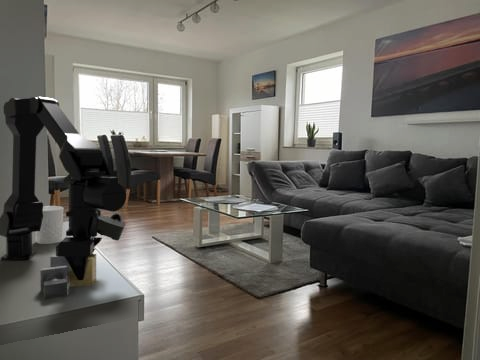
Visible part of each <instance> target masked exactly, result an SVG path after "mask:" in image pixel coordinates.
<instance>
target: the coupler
mask: <svg viewBox="0 0 480 360" xmlns="http://www.w3.org/2000/svg"><path fill="white" fill-rule="evenodd" d="M96 279H97V253H93V254H91V255H90V256H89V257H88V259H87V265H86V270H85V275H84V279H83V280H78V279H77V278H76V276H75V274H74V272H73V270H72V268H71V267H70V276H69V287H82V286H83V287H85V286H86V287H87V286H88V287H89V286H93V285H94V283H95V281H96Z"/></svg>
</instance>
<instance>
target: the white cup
mask: <svg viewBox="0 0 480 360" xmlns="http://www.w3.org/2000/svg"><path fill="white" fill-rule="evenodd" d="M64 210H65V209H64V207H63V206H60V205H59V206H58V205H43V220H42V225H41V229H40V231H35V232H34V234H35V242H36V244H39V245H53V244H57V243H58V244H59V243H60V242H61V241H62V240H63V239H62V238H63V225H64Z"/></svg>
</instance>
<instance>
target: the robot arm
mask: <svg viewBox="0 0 480 360" xmlns="http://www.w3.org/2000/svg"><path fill="white" fill-rule="evenodd" d="M3 114H4V118H5V125H6V127H7V128H8V129H9V130H10V132H11V134H12V136H13V139H12V141H13V142H12V180H11V182H12V184H11V186H12V187H11V188H12V190H11V194H10V196H9V197H8V199H6V201H5V203H3V210H2V211H3V213H2V214H1V216H0V236H2V237H4V238H5V251H6V252H5V254H3V255H2V256H1V257H0V261H1V260H6V261H7V260H10V261H11V260H30V259H31V258H32V257H33V256H34V255H35V254H36V253H37V252H38V250H37V249H33V233H35V231H40V229H41V225H42V220H43V206H44V203H43V201H40V200H39V198H38V197H37V196H36V194H35V193H36V165H37V164H36V163H37V161H36V159H37V138H38V135H40V133H41V131H42V130H43V129H44V128H45V129H46V130H47V131H48V133H49V134H50V135H51V137H52V139H53V140H54V141H55V143H56V144H57V147H58V149H59V150H60V151H59V154H58V158H59V160H60V162H61V164H62V167H63V169H64V170H65V171H66V173H68V175H66V176H65V177H64V178H63V183H68V209H67V210H66V211H65V217H66V218H68V229H67V230H65V231H66V232H65V237H64V238H63V239H62V240H61V241H60V242H58V244H57V245H56V246H55V256H58V257H65V258H66V260H67V262H68V263H69V265H70V267H71V268H72V270H73V272H74V274H75V276H76V278H77V279H78V280H83V279H84V275H85V270H86V265H87V259H88V257H89V256H90V255H91V254H94V252H95V250H96V248H95V247H96V246H97V245H98V244H99V243H101V241H102V239H103V237H102V236H104V237H107V238H110V239H111V240H113V241H119V240H120V239H121V236H122V234H123V231H124V229H125V227H126V222H125V221H124V220H123V218H122V215H121V214H120V213H117V211H120V210H121V209H122V208H123V207H124V205H125V203H126V200H127V193H126V189H125V187H124V186H122V184H120V183H119V177H118V176H113V173H112V170H111V168H110V166H109V165H108V163H107V161H106V158H105V155H104V153H103V151H102V150H101V148H100V147H99V146H98V145H97V144H96V143H94V142H93V141H92V140H90V139H87V138H86V137H84V136H82V135H81V134H80V133H79V131H78V130H77V129H76V128H75V126H74V125H73V124H72V122H71V121H70V119H69V118H68V117H67V115H66V114H65V113H64V112H63V110H62V108H61V107H60V103H59V102H58V100H56V99H54V98H50V97H46V96H45V97H43V96H33V97H30V98H17V97H11V98H10V99H8V101H6V102H5V103H4V104H3ZM102 210H103V211H108V212H112V213H113V212H114V213H113V214H112V215H111V216H109V215H103V214H102ZM98 234H99V235H100V236H101V237H100V236H98ZM97 236H98V237H97Z"/></svg>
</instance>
